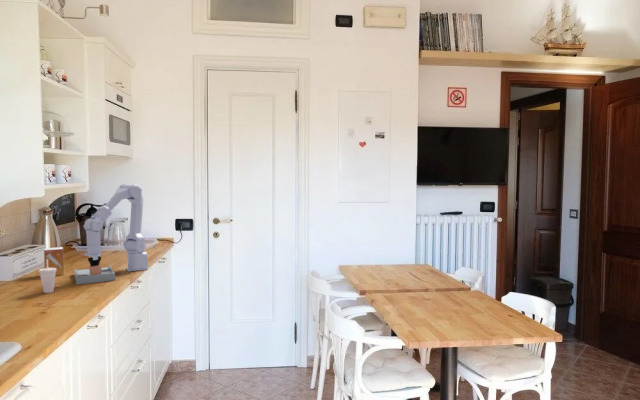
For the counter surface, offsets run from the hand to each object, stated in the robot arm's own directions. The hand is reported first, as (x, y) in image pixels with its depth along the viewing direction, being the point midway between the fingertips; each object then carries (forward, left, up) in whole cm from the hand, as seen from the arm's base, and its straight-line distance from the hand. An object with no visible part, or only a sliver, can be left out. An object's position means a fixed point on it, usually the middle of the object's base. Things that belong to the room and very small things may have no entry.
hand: (94, 272), depth 209 cm
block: (0, +4, -1) cm, 4 cm away
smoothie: (+18, +15, -3) cm, 24 cm away
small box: (+16, -19, -3) cm, 25 cm away
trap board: (0, -3, -3) cm, 4 cm away
